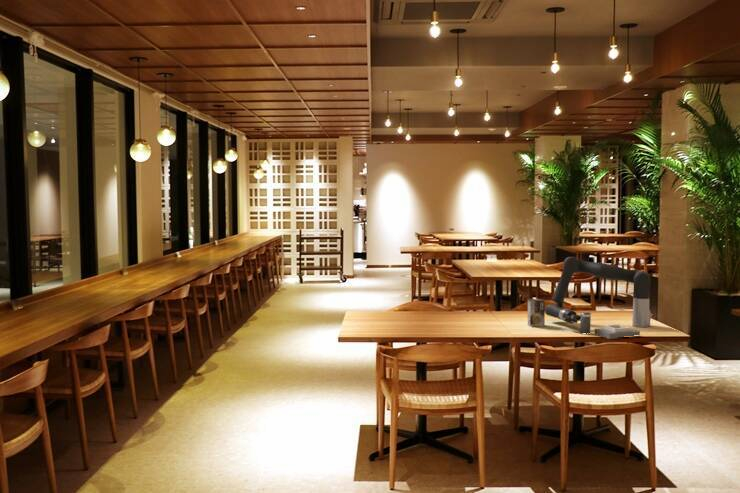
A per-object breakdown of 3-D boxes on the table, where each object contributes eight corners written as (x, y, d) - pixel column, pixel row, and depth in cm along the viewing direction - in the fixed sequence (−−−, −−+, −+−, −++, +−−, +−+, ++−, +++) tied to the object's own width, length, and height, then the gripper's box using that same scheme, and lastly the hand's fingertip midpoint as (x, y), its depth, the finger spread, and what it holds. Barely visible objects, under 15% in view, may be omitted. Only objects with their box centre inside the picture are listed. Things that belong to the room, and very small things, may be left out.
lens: (586, 332, 405) (587, 311, 404) (592, 333, 399) (592, 313, 398) (578, 332, 403) (578, 312, 402) (583, 334, 398) (584, 313, 397)
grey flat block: (623, 331, 405) (624, 323, 405) (639, 336, 392) (639, 327, 391) (594, 333, 400) (594, 325, 399) (609, 338, 386) (609, 330, 386)
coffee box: (541, 324, 427) (542, 298, 425) (544, 326, 420) (545, 300, 419) (527, 324, 427) (527, 298, 425) (529, 326, 420) (530, 300, 419)
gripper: (557, 310, 416) (572, 315, 400) (578, 308, 420) (594, 313, 404) (557, 322, 417) (572, 327, 401) (578, 321, 421) (593, 326, 405)
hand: (583, 320), depth 403 cm, fingers open, 8 cm apart
